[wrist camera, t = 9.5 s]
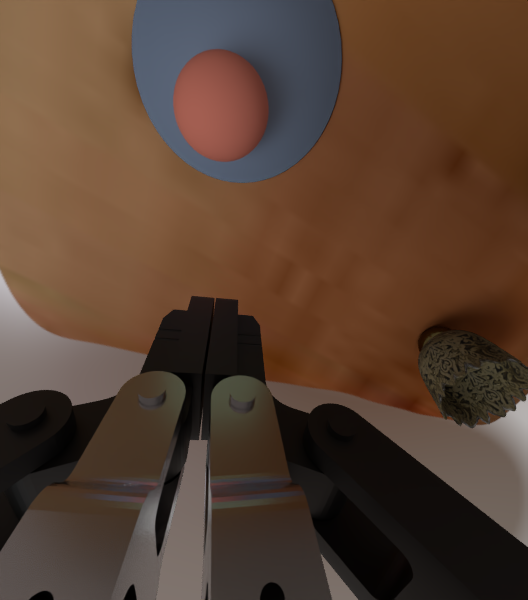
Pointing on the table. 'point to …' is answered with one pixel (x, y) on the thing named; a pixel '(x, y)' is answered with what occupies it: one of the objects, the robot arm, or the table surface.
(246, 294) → the table surface
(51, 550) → the robot arm
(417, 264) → the table surface
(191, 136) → the ball
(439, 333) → the cup
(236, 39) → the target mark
